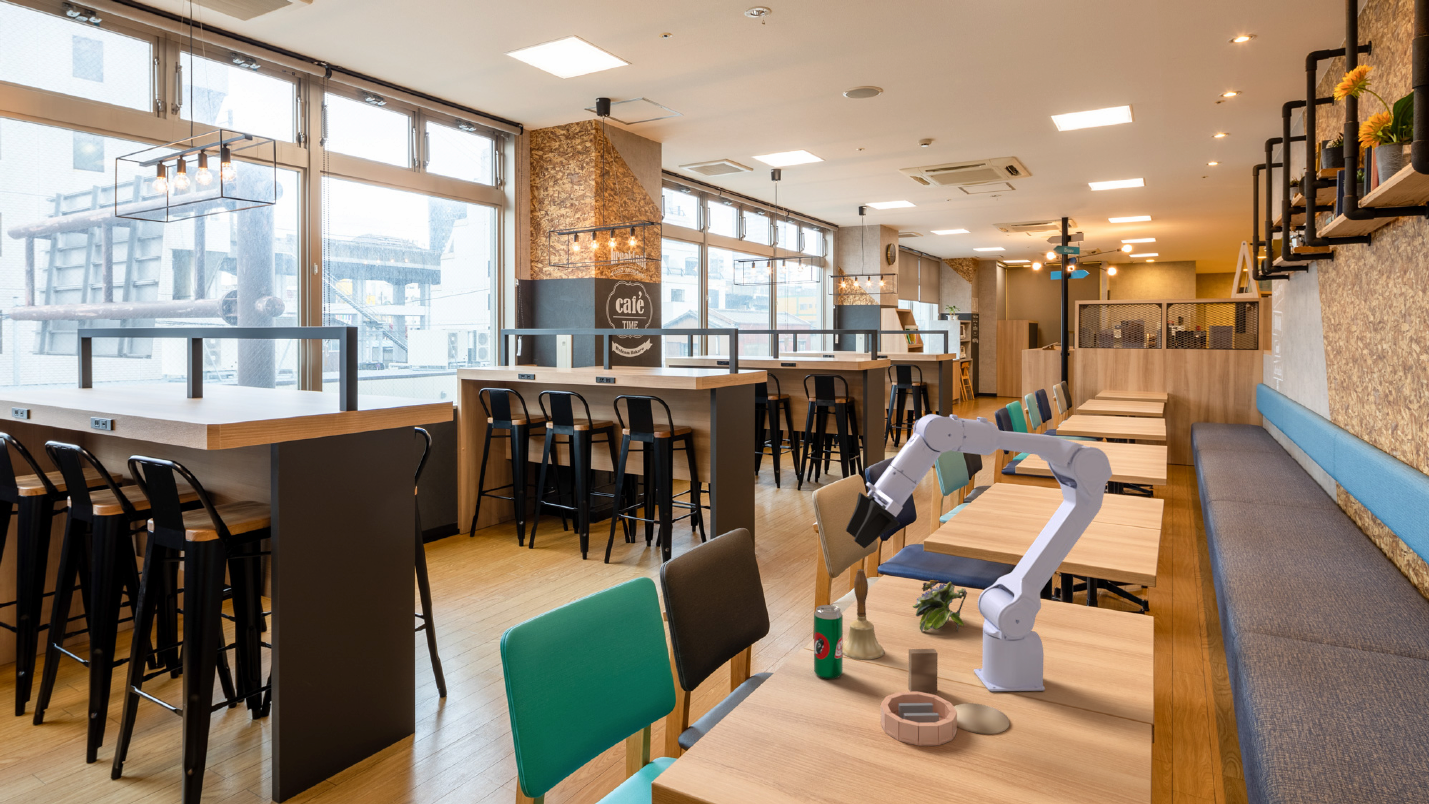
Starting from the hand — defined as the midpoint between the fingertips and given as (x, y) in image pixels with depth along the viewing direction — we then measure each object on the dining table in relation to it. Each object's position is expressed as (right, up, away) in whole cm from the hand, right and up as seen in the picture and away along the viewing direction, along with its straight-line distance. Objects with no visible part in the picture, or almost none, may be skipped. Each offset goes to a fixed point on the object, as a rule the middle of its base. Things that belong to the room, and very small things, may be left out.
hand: (854, 539), depth 130 cm
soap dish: (+8, -27, -12) cm, 30 cm away
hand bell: (+5, -25, +17) cm, 31 cm away
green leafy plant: (+24, -24, +29) cm, 44 cm away
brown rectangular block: (+12, -26, 0) cm, 28 cm away
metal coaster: (+18, -27, -10) cm, 33 cm away
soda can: (-3, -26, +7) cm, 27 cm away
